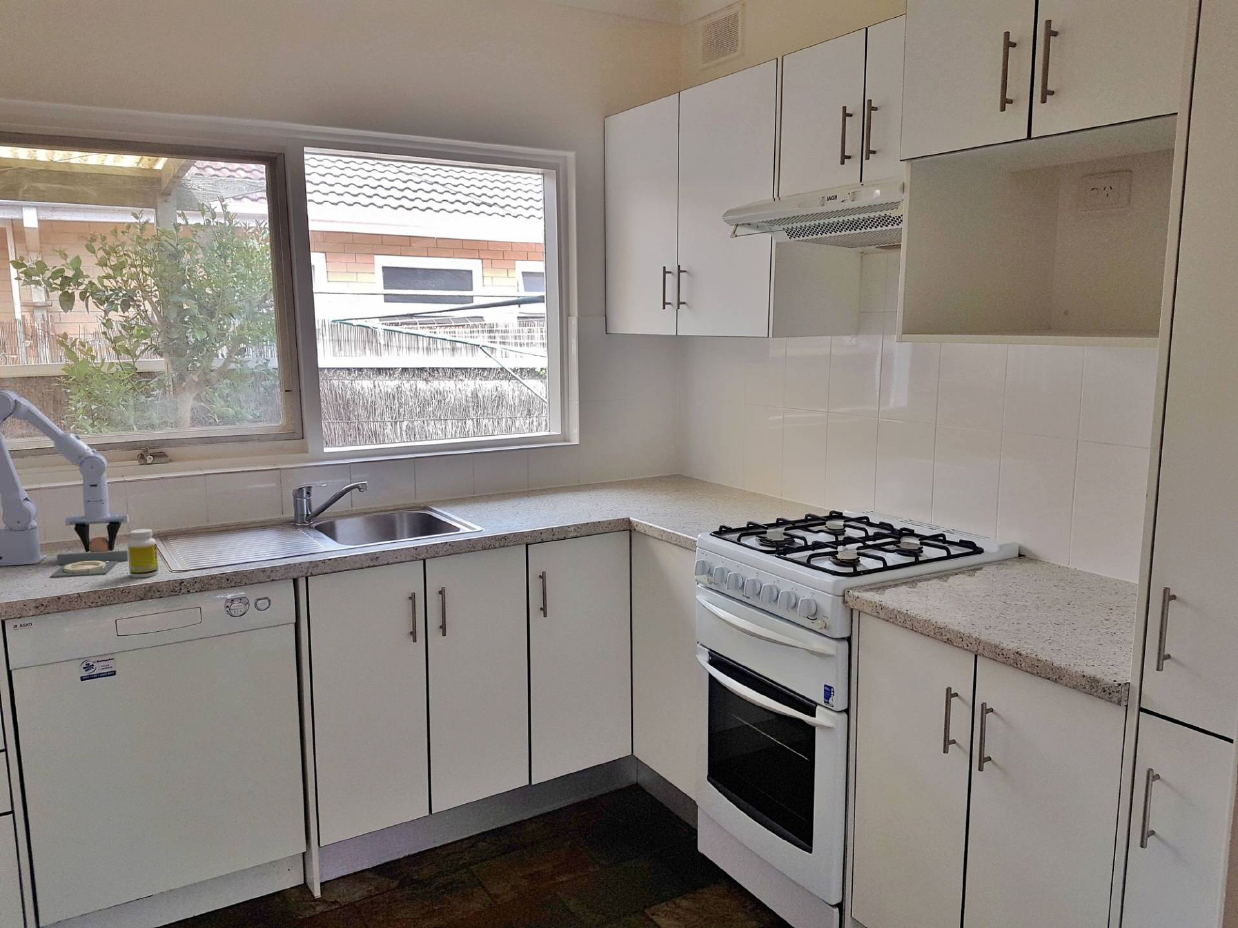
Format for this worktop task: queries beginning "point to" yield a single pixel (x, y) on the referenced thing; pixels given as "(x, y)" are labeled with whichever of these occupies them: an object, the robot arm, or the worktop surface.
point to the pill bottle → (142, 554)
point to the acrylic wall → (92, 557)
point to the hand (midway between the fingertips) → (99, 550)
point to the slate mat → (84, 568)
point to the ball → (99, 545)
